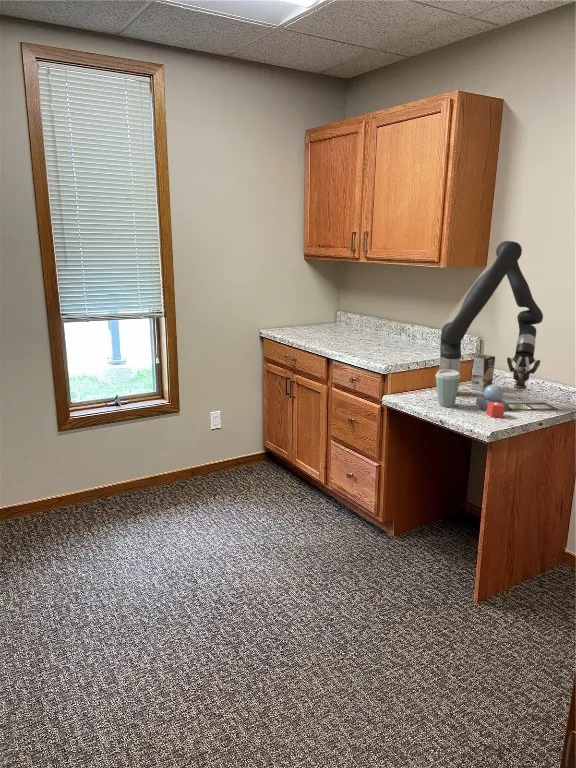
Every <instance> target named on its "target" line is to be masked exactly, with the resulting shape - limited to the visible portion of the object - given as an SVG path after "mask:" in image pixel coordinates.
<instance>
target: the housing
mask: <svg viewBox="0 0 576 768" xmlns="http://www.w3.org/2000/svg"><path fill="white" fill-rule="evenodd" d="M499 402H500V403H501V404H503V405H504V406H505V408H504V412H505V411H509V409H508V408H509V404H508V403H509V402H507V401H506V400H504V399H502V398H501V399H500V400H499ZM487 403H488V402H487V401H486V398H485V397H476V399H475V405H476V406H478V407H479V408H480V407H481V409H482V410H484V411H485V412H487Z"/></svg>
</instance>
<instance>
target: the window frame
mask: <svg viewBox="0 0 576 768" xmlns="http://www.w3.org/2000/svg"><path fill="white" fill-rule="evenodd" d="M507 403H508V404H509V408H508V411H511V412H512V410H525V411H558V410H559V409H558V407H555V406H554V405H551V404H549V403H548V402H543V401H542V402H539V401H537V402H507ZM523 404H524V405H523ZM525 405H526V406H525ZM530 405H545V406H547V407H548V408H546V407H545V408H542V407H541V408H534V407H532V406H530ZM527 406H528V407H530V408H531V409H528V407H527Z"/></svg>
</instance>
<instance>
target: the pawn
mask: <svg viewBox="0 0 576 768" xmlns="http://www.w3.org/2000/svg"><path fill="white" fill-rule="evenodd" d="M525 376H526V367H523V366H521V367H519V368H518V372H517V379H516V380H515V384H513V388H514V389H518V390H526V389H527V386H528V385H526V381H525Z"/></svg>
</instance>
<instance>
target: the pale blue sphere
mask: <svg viewBox="0 0 576 768" xmlns="http://www.w3.org/2000/svg"><path fill="white" fill-rule="evenodd" d="M503 392H504V391H503V389H502V388H501V387H500V386H499V385H497V384H492V385H489V386H487V387H486V388H485V390H484V391H483V395H484V397H483V398H486V401H487V402H499V400H500V399H502V398H503V395H504V394H503Z"/></svg>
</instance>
